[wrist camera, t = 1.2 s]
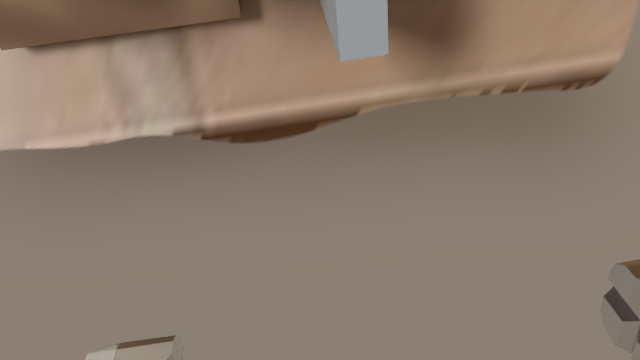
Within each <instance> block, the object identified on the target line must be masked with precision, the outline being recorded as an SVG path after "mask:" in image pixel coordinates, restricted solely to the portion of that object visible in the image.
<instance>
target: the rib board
mask: <svg viewBox="0 0 640 360" xmlns="http://www.w3.org/2000/svg"><path fill="white" fill-rule="evenodd" d="M233 18H241V6H240V1H239V0H0V48H1V50H7V49H14V48H22V47H29V46H36V45H43V44H51V43H58V42H65V41H73V40H80V39H87V38H95V37H102V36H109V35H116V34H124V33H131V32H138V31H146V30H153V29H160V28H168V27H175V26H182V25H189V24H197V23H204V22H211V21H219V20H226V19H233Z"/></svg>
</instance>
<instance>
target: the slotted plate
mask: <svg viewBox="0 0 640 360" xmlns="http://www.w3.org/2000/svg"><path fill="white" fill-rule="evenodd" d="M319 1H320V3H321V6H322V9H323V12H324V15H325V18H326V21H327V24H328V27H329V30H330V33H331V36H332V39H333V41H334V44H335V47H336V50H337V53H338V56H339V59H340V61H347V60H354V59H361V58H368V57H375V56H382V55H389V54H388V6H387V0H319Z"/></svg>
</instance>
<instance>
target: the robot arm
mask: <svg viewBox="0 0 640 360" xmlns="http://www.w3.org/2000/svg"><path fill="white" fill-rule="evenodd" d="M608 279H609V281H610V282H611V283H612V285H613V287H612V288H611V289H610V290H609V291H608V292H607V293H606V294H605V295H604V296H603V301H602V306H601V312H602V317H603V323H604V325H605V328H606V330H607V332H608V334H609V336H610V337H611V339H612V340H613V342H614V343H615V345H617V346H619V347H620V348H622V349H624V350H626V351H628V352H629V353H631V354H630V360H640V260H634V261H628V262H622V263H616V264H615V265H614V266H613V267H612V268H611V271H610V274H609V277H608ZM182 359H183V346H182V343H181V341H180V338H179V336H168V337H161V338H154V339H147V340H139V341H131V342H124V343H120V344H113V345H105V346H99V347H93V348H92V349H91V350H90V352H89V353H88V355H87V357H86V360H182Z"/></svg>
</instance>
